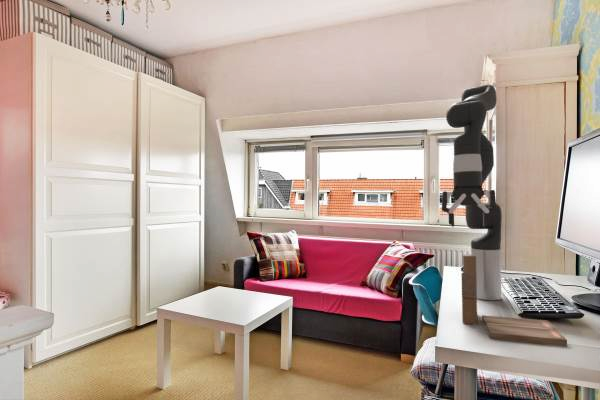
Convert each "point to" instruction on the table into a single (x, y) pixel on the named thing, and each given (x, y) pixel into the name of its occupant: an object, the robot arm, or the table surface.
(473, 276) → the tan cylinder-on-bar part
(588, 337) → the table surface
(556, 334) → the board
